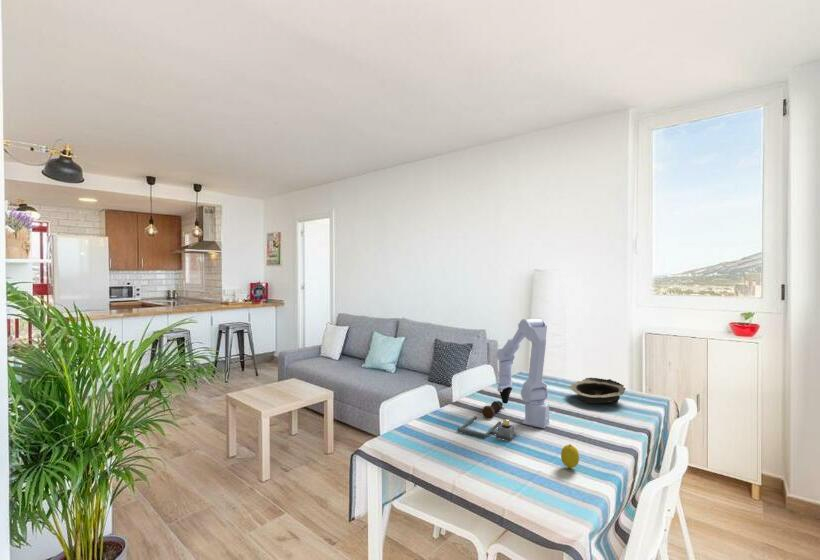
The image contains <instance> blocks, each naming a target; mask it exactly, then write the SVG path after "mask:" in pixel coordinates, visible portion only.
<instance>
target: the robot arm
mask: <svg viewBox="0 0 820 560" xmlns="http://www.w3.org/2000/svg"><path fill="white" fill-rule="evenodd" d="M517 327H518V328H517V330H516V333H515V334H514V335H513V337H512V338H508V339H507V341H506V343H505V344H504V345H503V347H502V348H498V349H497V351H496V358H497V359H496V360H497V361H498V381H497V382H496V385H498V386H497V392H499V395H500V398H501V403H502V404H506V405H507V404H508V402H509V398H510V395H511V393H512V390H513V387H512V386H513V380H512V377H513V376H512V371H513V370H512V366H513V364H514V360H515V354H516V352H517V351H518V350H519V349H520V348H521V345H520V343H521V342H522V341H523V340H524V339H525V338H526V339H527V340H528V341H529V342H531V349H530V359H529V360H530V361H529V371H528V378H527V379H526V380H525V381H523V384H522V388H521V391H520V397H521V399H522V400H523V402H524V405H525V406H524V411H525V412H524V419H523V421H522V422H521V424H524V425H528V426H531V427H537V428H540V429H541V428H542V429H545V428H546V427H547V426H548V425H549V423H550V405H549V404H547V403H545V402H546V400H547V399H548V395H549V394H548V390H547V389H548V386H547V385H548V384H547V383H545V381H543V375H544V374H543V373H544V366H545V365H544V363H545V356H546V355H545V354H546V344H547V331H548V325H547V323H546V322H545V320H544V319H543V318H541V317H538V318H529V319H528V318H527V319H525V318H522V319H521V320H520V321H519V323H518V325H517Z"/></svg>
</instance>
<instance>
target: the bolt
mask: <svg viewBox="0 0 820 560" xmlns="http://www.w3.org/2000/svg"><path fill="white" fill-rule="evenodd" d="M503 404H504V403H502V401H499V400H496V401H493V402H492V403H491V405H490V406H489V405H485V406H484V407H483V409H482V410H481V413H482V416H483V418H485V419H488V418H492V419H493V418H494V416H495V414H496V413H499V412H501V410H502V408H503V406H504V405H503Z"/></svg>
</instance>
